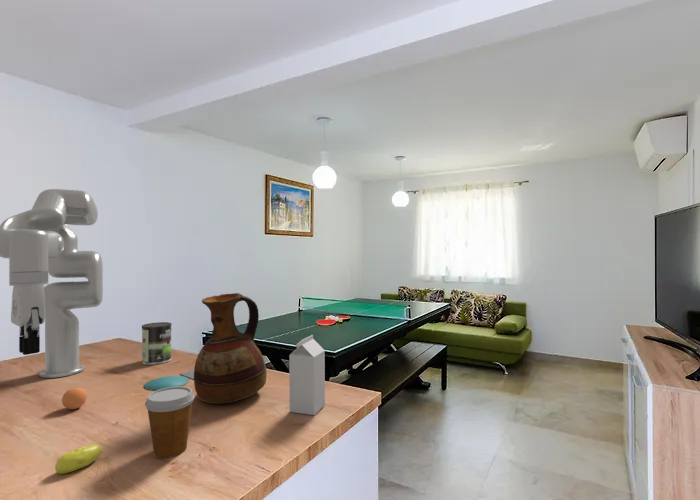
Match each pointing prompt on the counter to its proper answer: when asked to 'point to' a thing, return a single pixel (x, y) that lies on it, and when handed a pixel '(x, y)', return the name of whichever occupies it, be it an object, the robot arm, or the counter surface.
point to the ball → (74, 398)
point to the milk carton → (307, 377)
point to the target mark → (166, 382)
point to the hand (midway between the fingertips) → (29, 351)
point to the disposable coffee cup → (169, 419)
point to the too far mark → (189, 374)
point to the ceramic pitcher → (229, 354)
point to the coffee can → (156, 343)
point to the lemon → (77, 458)
